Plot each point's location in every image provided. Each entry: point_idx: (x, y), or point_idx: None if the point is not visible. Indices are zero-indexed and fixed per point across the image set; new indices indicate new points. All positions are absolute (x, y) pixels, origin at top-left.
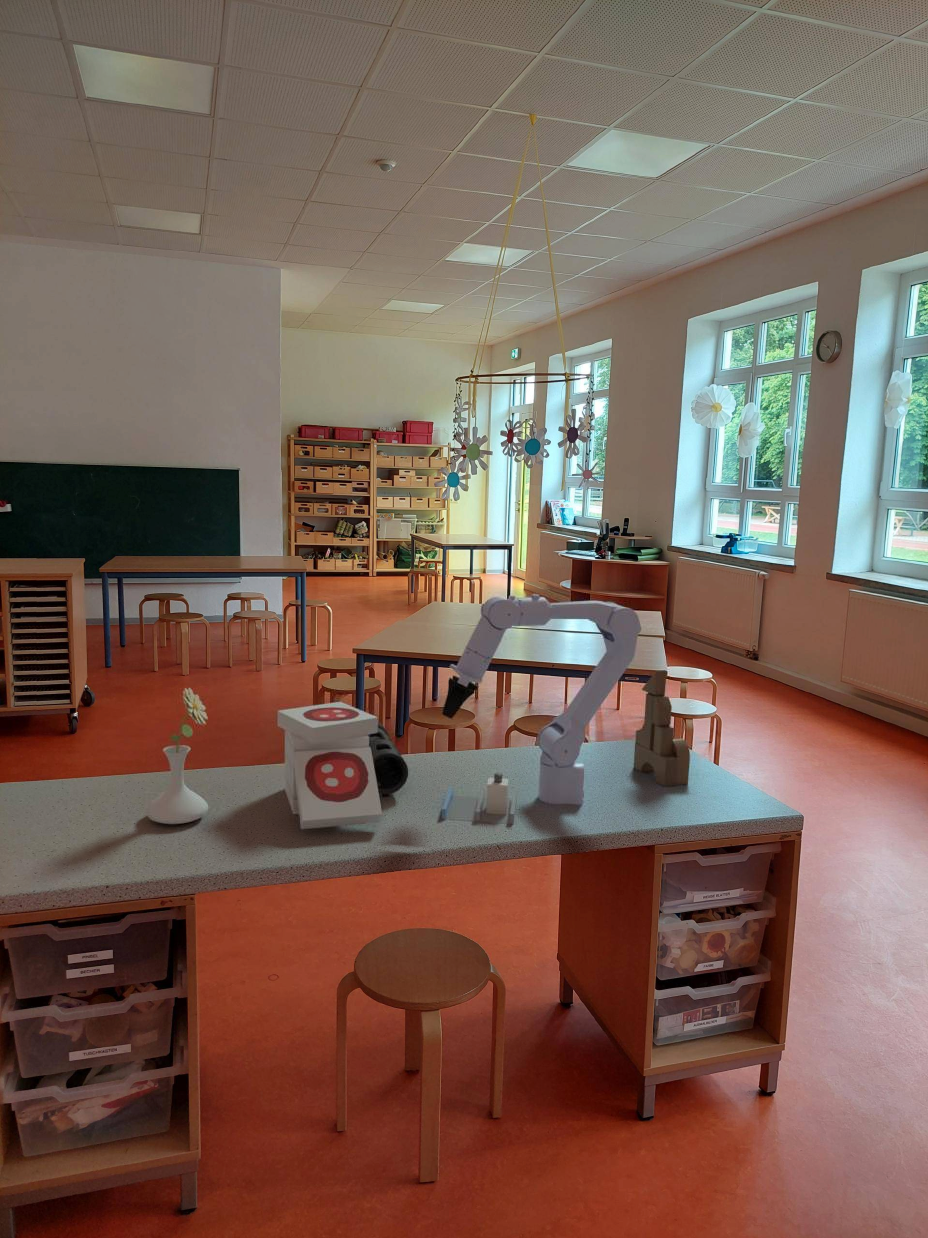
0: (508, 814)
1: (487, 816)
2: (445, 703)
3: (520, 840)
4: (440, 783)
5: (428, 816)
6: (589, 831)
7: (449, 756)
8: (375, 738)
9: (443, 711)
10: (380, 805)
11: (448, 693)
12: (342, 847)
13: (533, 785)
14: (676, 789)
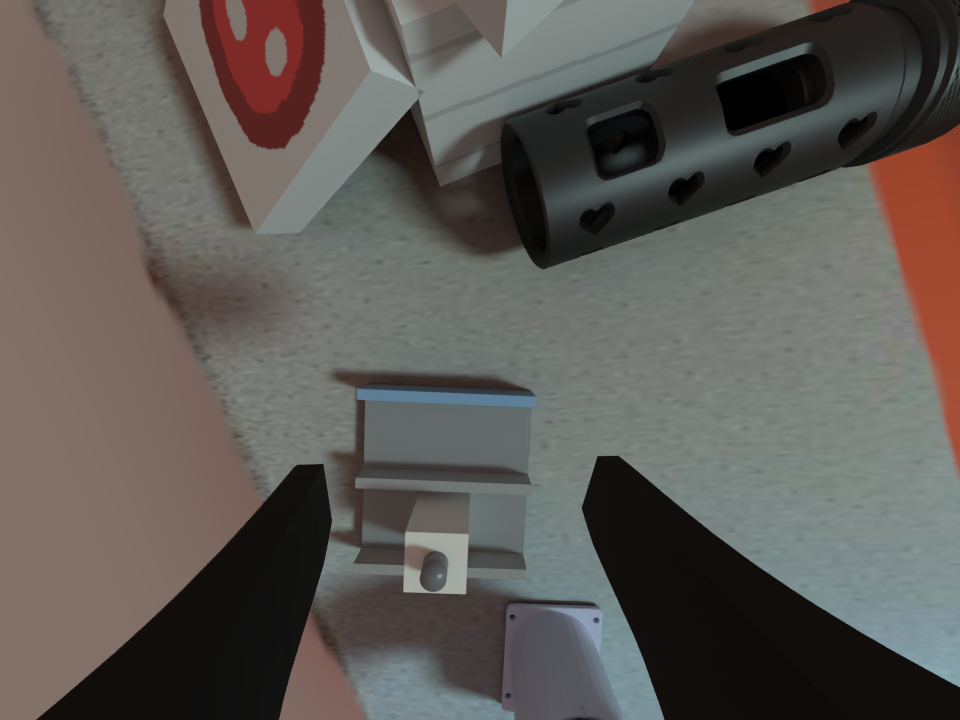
0: None
1: (399, 495)
2: (231, 541)
3: None
4: (654, 357)
5: (412, 347)
6: (380, 712)
7: (890, 364)
8: (797, 92)
9: (281, 484)
10: (263, 220)
11: (86, 686)
12: (188, 166)
13: None
14: None
